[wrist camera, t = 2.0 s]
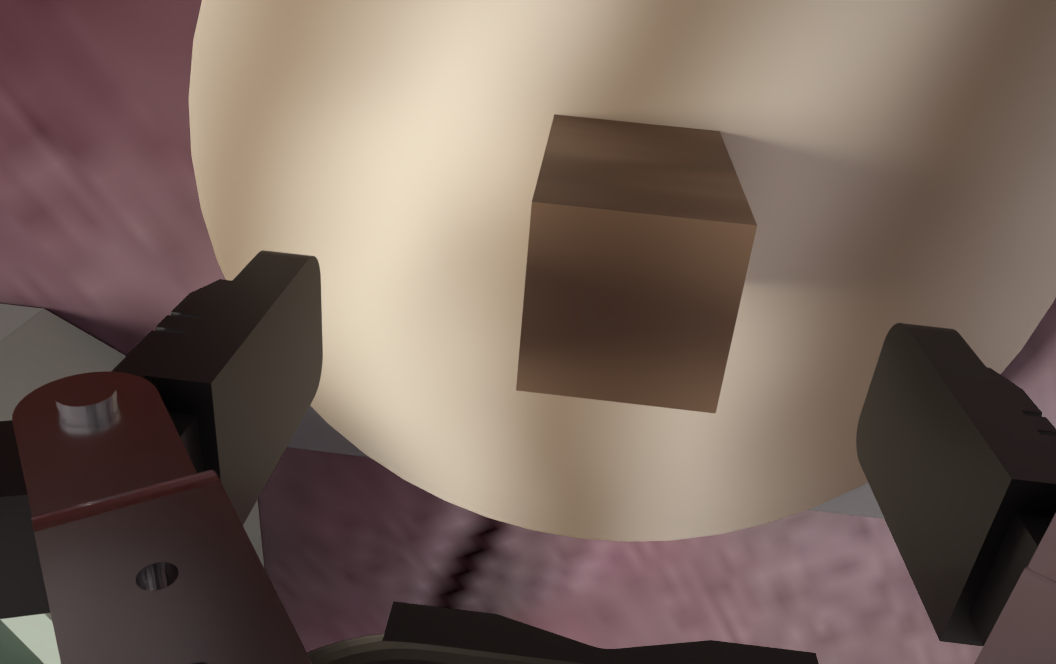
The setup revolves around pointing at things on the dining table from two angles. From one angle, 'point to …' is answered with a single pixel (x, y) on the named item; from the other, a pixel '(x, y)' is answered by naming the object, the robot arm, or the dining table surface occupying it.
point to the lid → (631, 230)
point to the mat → (326, 439)
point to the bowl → (3, 381)
